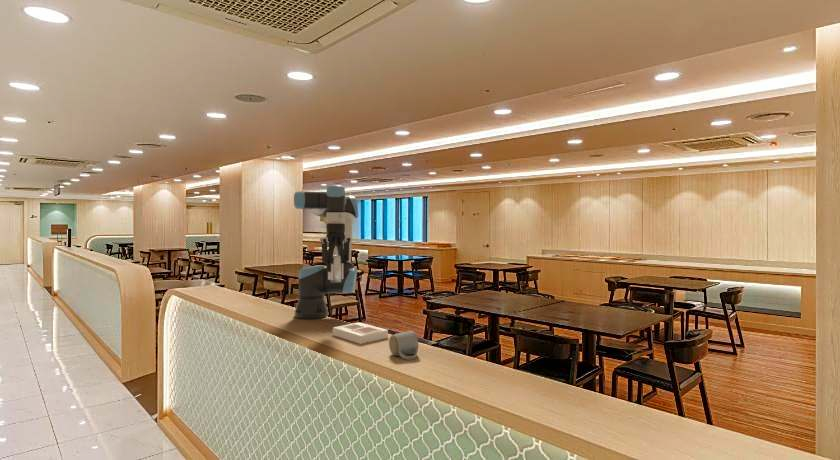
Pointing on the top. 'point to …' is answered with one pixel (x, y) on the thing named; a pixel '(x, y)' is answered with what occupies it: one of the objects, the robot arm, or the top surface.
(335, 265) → the pin
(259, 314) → the top surface
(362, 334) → the pin board
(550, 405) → the top surface
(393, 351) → the ceramic mug
